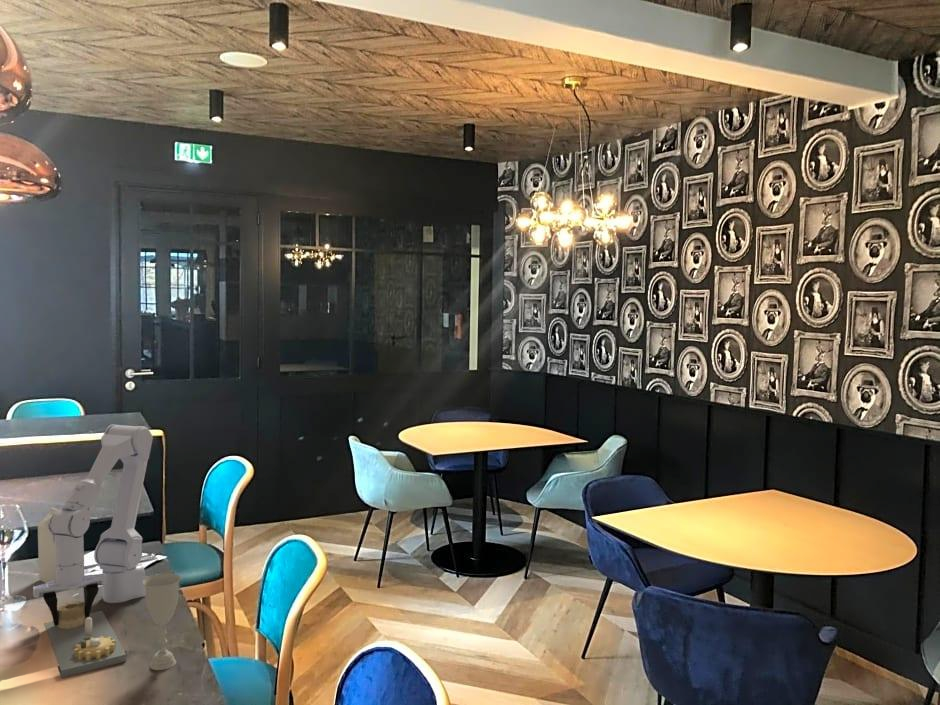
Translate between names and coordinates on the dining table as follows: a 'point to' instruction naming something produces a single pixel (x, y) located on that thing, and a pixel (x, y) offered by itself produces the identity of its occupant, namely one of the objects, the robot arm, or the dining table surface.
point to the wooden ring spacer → (71, 614)
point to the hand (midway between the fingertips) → (71, 620)
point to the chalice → (162, 612)
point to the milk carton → (46, 550)
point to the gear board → (85, 645)
